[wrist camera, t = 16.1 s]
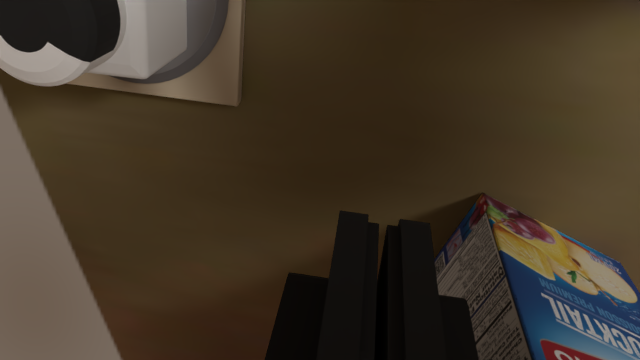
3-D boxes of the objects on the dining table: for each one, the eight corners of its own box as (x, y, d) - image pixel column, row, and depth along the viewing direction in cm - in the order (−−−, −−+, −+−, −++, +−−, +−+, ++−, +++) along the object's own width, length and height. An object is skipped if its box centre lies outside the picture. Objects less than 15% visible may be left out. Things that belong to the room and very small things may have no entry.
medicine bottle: (70, -82, 35) (-73, -74, 24) (187, -69, 34) (95, -56, 24) (81, 38, 38) (-41, 93, 27) (188, 51, 37) (107, 111, 27)
